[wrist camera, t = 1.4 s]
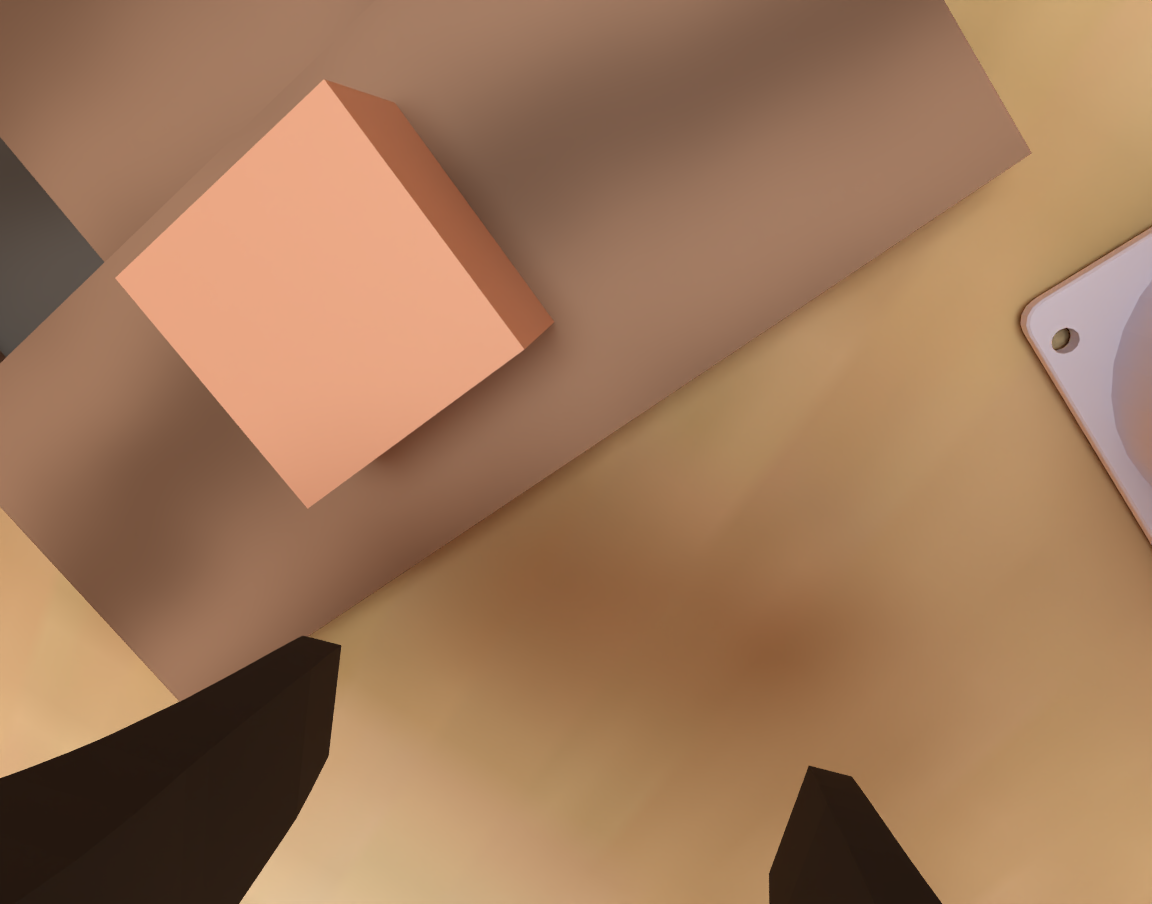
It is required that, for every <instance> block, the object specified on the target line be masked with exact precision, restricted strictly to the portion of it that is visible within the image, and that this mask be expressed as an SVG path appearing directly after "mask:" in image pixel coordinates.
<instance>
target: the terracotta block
mask: <svg viewBox="0 0 1152 904" xmlns="http://www.w3.org/2000/svg"><path fill="white" fill-rule="evenodd" d="M115 279H116V280H117V281H118V282H119V283H120V285H121V286H122V287H123V288H124V289H125V291H126V292H127V293H128V294H129V295H130V297H131V298H132V299H133V300H134V301H135V303H136V304H137V305H138V306H139V307H140V309H141V310H142V311H143V312H144V313H145V315H146V316H147V317H148V318H149V319H150V321H151V322H152V323H153V324H154V325H155V327H156V328H157V329H158V330H159V331H160V333H161V334H162V335H163V336H164V337H165V339H166V340H167V341H168V342H169V343H170V345H171V346H172V347H173V348H174V349H175V351H176V352H177V353H178V354H179V355H180V357H181V358H182V359H183V360H184V361H185V363H186V364H187V365H188V366H189V367H190V368H191V370H192V371H193V372H194V373H195V374H196V376H197V377H198V378H199V379H200V380H201V382H202V383H203V384H204V385H205V386H206V388H207V389H208V390H209V391H210V392H211V394H212V395H213V396H214V397H215V398H216V400H217V401H218V402H219V403H220V404H221V406H222V407H223V408H224V409H225V410H226V412H227V413H228V414H229V415H230V416H231V418H232V419H233V420H234V421H235V422H236V424H237V425H238V426H239V427H240V428H241V430H242V431H243V432H244V433H245V434H246V436H247V437H248V438H249V439H250V440H251V442H252V443H253V444H254V445H255V446H256V448H257V449H258V450H259V451H260V452H261V454H262V455H263V456H264V457H265V458H266V460H267V461H268V462H269V463H270V464H271V466H272V467H273V468H274V469H275V470H276V472H277V473H278V474H279V475H280V476H281V478H282V479H283V480H284V481H285V482H286V483H287V485H288V486H289V487H290V488H291V489H292V491H293V492H294V493H295V494H296V495H297V497H298V498H299V499H300V500H301V501H302V503H303V504H304V505H305V506H306V507H307V509H308V508H309V507H311V506H312V505H313V504H315V503H316V502H317V501H319V500H320V499H322V498H323V497H324V496H326V495H327V494H328V493H330V492H331V491H332V490H334V489H335V488H337V487H338V486H339V485H341V484H342V483H343V482H345V481H346V480H347V479H349V478H350V477H352V476H353V475H354V474H356V473H357V472H358V471H360V470H361V469H362V468H364V467H365V466H366V465H368V464H369V463H371V462H372V461H373V460H375V459H376V458H377V457H379V456H380V455H381V454H383V453H384V452H386V451H387V450H388V449H390V448H391V447H392V446H394V445H395V444H396V443H398V442H399V441H401V440H402V439H403V438H405V437H406V436H407V435H409V434H410V433H411V432H413V431H414V430H415V429H417V428H418V427H420V426H421V425H422V424H424V423H425V422H426V421H428V420H429V419H430V418H432V417H433V416H435V415H436V414H437V413H439V412H440V411H441V410H443V409H444V408H445V407H447V406H448V405H450V404H451V403H452V402H454V401H455V400H456V399H458V398H459V397H460V396H462V395H463V394H464V393H466V392H467V391H469V390H470V389H471V388H473V387H474V386H475V385H477V384H478V383H479V382H481V381H482V380H484V379H485V378H486V377H488V376H489V375H490V374H492V373H493V372H494V371H496V370H497V369H499V368H500V367H501V366H503V365H504V364H505V363H507V362H508V361H509V360H511V359H512V358H513V357H515V356H516V355H518V354H519V353H520V352H522V351H523V350H524V349H525V348H527V347H528V346H529V345H530V344H531V343H532V342H533V341H534V340H535V339H536V338H537V337H539V336H540V335H541V334H542V333H543V332H544V331H545V330H546V329H547V328H548V327H550V326H551V325H552V324H553V323H554V321H553V319H552V318H551V317H550V315H549V314H548V313H547V311H546V310H545V308H544V307H543V306H542V304H541V303H540V302H539V300H538V299H537V297H536V296H535V295H534V293H533V292H532V291H531V289H530V288H529V286H528V285H527V284H526V282H525V281H524V280H523V278H522V277H521V275H520V274H519V273H518V271H517V270H516V269H515V267H514V266H513V264H512V263H511V262H510V260H509V259H508V258H507V256H506V255H505V253H504V252H503V251H502V249H501V248H500V247H499V245H498V244H497V242H496V241H495V240H494V238H493V237H492V236H491V234H490V233H489V231H488V230H487V229H486V227H485V226H484V225H483V223H482V222H481V220H480V219H479V218H478V216H477V215H476V214H475V212H474V211H473V209H472V208H471V207H470V205H469V204H468V203H467V201H466V200H465V198H464V197H463V196H462V194H461V193H460V192H459V190H458V189H457V187H456V186H455V185H454V183H453V182H452V181H451V179H450V178H449V176H448V175H447V174H446V172H445V171H444V170H443V168H442V167H441V166H440V164H439V163H438V161H437V160H436V159H435V157H434V156H433V155H432V153H431V152H430V150H429V149H428V148H427V146H426V145H425V144H424V142H423V141H422V139H421V138H420V137H419V135H418V134H417V133H416V131H415V130H414V128H413V127H412V126H411V124H410V123H409V122H408V120H407V119H406V117H405V116H404V115H403V113H402V112H401V111H400V109H399V108H398V106H397V105H396V104H395V103H394V102H391V101H388V100H385V99H382V98H379V97H376V96H373V95H370V94H367V93H364V92H361V91H358V90H355V89H352V88H349V87H346V86H343V85H340V84H337V83H334V82H331V81H328V80H325V79H324V80H322V81H321V82H320V83H319V84H318V85H317V86H316V87H315V88H314V89H313V90H312V91H311V92H310V93H309V94H308V95H307V96H306V97H305V98H304V99H303V100H301V101H300V102H299V103H298V104H297V105H296V106H295V107H294V108H293V109H292V110H291V111H290V112H289V113H288V114H287V115H286V116H285V117H284V118H283V119H282V120H280V121H279V122H278V123H277V124H276V125H275V126H274V127H273V128H272V129H271V130H270V131H269V132H268V133H267V134H266V135H265V136H264V137H263V138H262V139H261V140H259V141H258V142H257V143H256V144H255V145H254V146H253V147H252V148H251V149H250V150H249V151H248V152H247V153H246V154H245V155H244V156H243V157H242V158H241V159H240V160H238V161H237V162H236V163H235V164H234V165H233V166H232V167H231V168H230V169H229V170H228V171H227V172H226V173H225V174H224V175H223V176H222V177H221V178H220V179H219V180H217V181H216V182H215V183H214V184H213V185H212V186H211V187H210V188H209V189H208V190H207V191H206V192H205V193H204V194H203V195H202V196H201V197H200V198H199V199H198V200H196V201H195V202H194V203H193V204H192V205H191V206H190V207H189V208H188V209H187V210H186V211H185V212H184V213H183V214H182V215H181V216H180V217H179V218H178V219H176V220H175V221H174V222H173V223H172V224H171V225H170V226H169V227H168V228H167V229H166V230H165V231H164V232H163V233H162V234H161V235H160V236H159V237H158V238H157V239H155V240H154V241H153V242H152V243H151V244H150V245H149V246H148V247H147V248H146V249H145V250H144V251H143V252H142V253H141V254H140V255H139V256H138V257H137V258H136V259H134V260H133V261H132V262H131V263H130V264H129V265H128V266H127V267H126V268H125V269H124V270H123V271H122V272H121V273H120V274H119V275H118V276H117V277H116V278H115Z"/></svg>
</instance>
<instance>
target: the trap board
mask: <svg viewBox="0 0 1152 904" xmlns="http://www.w3.org/2000/svg"><path fill="white" fill-rule="evenodd" d="M324 79H325V80H328V81H331V82H334V83H337V84H340V85H343V86H346V87H349V88H352V89H355V90H358V91H361V92H364V93H367V94H370V95H373V96H376V97H379V98H382V99H385V100H388V101H391V102H394V103H395V104H396V105H397V106H398V108H399V109H400V111H401V112H402V113H403V115H404V116H405V117H406V119H407V120H408V122H409V123H410V124H411V126H412V127H413V128H414V130H415V131H416V133H417V134H418V135H419V137H420V138H421V139H422V141H423V142H424V144H425V145H426V146H427V148H428V149H429V150H430V152H431V153H432V155H433V156H434V157H435V159H436V160H437V161H438V163H439V164H440V166H441V167H442V168H443V170H444V171H445V172H446V174H447V175H448V176H449V178H450V179H451V181H452V182H453V183H454V185H455V186H456V187H457V189H458V190H459V192H460V193H461V194H462V196H463V197H464V198H465V200H466V201H467V203H468V204H469V205H470V207H471V208H472V209H473V211H474V212H475V214H476V215H477V216H478V218H479V219H480V220H481V222H482V223H483V225H484V226H485V227H486V229H487V230H488V231H489V233H490V234H491V236H492V237H493V238H494V240H495V241H496V242H497V244H498V245H499V247H500V248H501V249H502V251H503V252H504V253H505V255H506V256H507V258H508V259H509V260H510V262H511V263H512V264H513V266H514V267H515V269H516V270H517V271H518V273H519V274H520V275H521V277H522V278H523V280H524V281H525V282H526V284H527V285H528V286H529V288H530V289H531V291H532V292H533V293H534V295H535V296H536V297H537V299H538V300H539V302H540V303H541V304H542V306H543V307H544V308H545V310H546V311H547V313H548V314H549V315H550V317H551V318H552V319H553V321H554V323H553V324H552V325H551V326H550V327H548V328H547V329H546V330H545V331H544V332H543V333H542V334H541V335H540V336H539V337H537V338H536V339H535V340H534V341H533V342H532V343H531V344H530V345H529V346H528V347H527V348H525V349H524V350H523V351H522V352H520V353H519V354H518V355H516V356H515V357H513V358H512V359H511V360H509V361H508V362H507V363H505V364H504V365H503V366H501V367H500V368H499V369H497V370H496V371H494V372H493V373H492V374H490V375H489V376H488V377H486V378H485V379H484V380H482V381H481V382H479V383H478V384H477V385H475V386H474V387H473V388H471V389H470V390H469V391H467V392H466V393H464V394H463V395H462V396H460V397H459V398H458V399H456V400H455V401H454V402H452V403H451V404H450V405H448V406H447V407H445V408H444V409H443V410H441V411H440V412H439V413H437V414H436V415H435V416H433V417H432V418H430V419H429V420H428V421H426V422H425V423H424V424H422V425H421V426H420V427H418V428H417V429H415V430H414V431H413V432H411V433H410V434H409V435H407V436H406V437H405V438H403V439H402V440H401V441H399V442H398V443H396V444H395V445H394V446H392V447H391V448H390V449H388V450H387V451H386V452H384V453H383V454H381V455H380V456H379V457H377V458H376V459H375V460H373V461H372V462H371V463H369V464H368V465H366V466H365V467H364V468H362V469H361V470H360V471H358V472H357V473H356V474H354V475H353V476H352V477H350V478H349V479H347V480H346V481H345V482H343V483H342V484H341V485H339V486H338V487H337V488H335V489H334V490H332V491H331V492H330V493H328V494H327V495H326V496H324V497H323V498H322V499H320V500H319V501H317V502H316V503H315V504H313V505H312V506H311V507H309V508H308V509H307V507H306V506H305V505H304V504H303V503H302V501H301V500H300V499H299V498H298V497H297V495H296V494H295V493H294V492H293V491H292V489H291V488H290V487H289V486H288V485H287V483H286V482H285V481H284V480H283V479H282V478H281V476H280V475H279V474H278V473H277V472H276V470H275V469H274V468H273V467H272V466H271V464H270V463H269V462H268V461H267V460H266V458H265V457H264V456H263V455H262V454H261V452H260V451H259V450H258V449H257V448H256V446H255V445H254V444H253V443H252V442H251V440H250V439H249V438H248V437H247V436H246V434H245V433H244V432H243V431H242V430H241V428H240V427H239V426H238V425H237V424H236V422H235V421H234V420H233V419H232V418H231V416H230V415H229V414H228V413H227V412H226V410H225V409H224V408H223V407H222V406H221V404H220V403H219V402H218V401H217V400H216V398H215V397H214V396H213V395H212V394H211V392H210V391H209V390H208V389H207V388H206V386H205V385H204V384H203V383H202V382H201V380H200V379H199V378H198V377H197V376H196V374H195V373H194V372H193V371H192V370H191V368H190V367H189V366H188V365H187V364H186V363H185V361H184V360H183V359H182V358H181V357H180V355H179V354H178V353H177V352H176V351H175V349H174V348H173V347H172V346H171V345H170V343H169V342H168V341H167V340H166V339H165V337H164V336H163V335H162V334H161V333H160V331H159V330H158V329H157V328H156V327H155V325H154V324H153V323H152V322H151V321H150V319H149V318H148V317H147V316H146V315H145V313H144V312H143V311H142V310H141V309H140V307H139V306H138V305H137V304H136V303H135V301H134V300H133V299H132V298H131V297H130V295H129V294H128V293H127V292H126V291H125V289H124V288H123V287H122V286H121V285H120V283H119V282H118V281H117V280H116V279H115V278H116V277H117V276H118V275H119V274H120V273H121V272H122V271H123V270H124V269H125V268H126V267H127V266H128V265H129V264H130V263H131V262H132V261H133V260H134V259H136V258H137V257H138V256H139V255H140V254H141V253H142V252H143V251H144V250H145V249H146V248H147V247H148V246H149V245H150V244H151V243H152V242H153V241H154V240H155V239H157V238H158V237H159V236H160V235H161V234H162V233H163V232H164V231H165V230H166V229H167V228H168V227H169V226H170V225H171V224H172V223H173V222H174V221H175V220H176V219H178V218H179V217H180V216H181V215H182V214H183V213H184V212H185V211H186V210H187V209H188V208H189V207H190V206H191V205H192V204H193V203H194V202H195V201H196V200H198V199H199V198H200V197H201V196H202V195H203V194H204V193H205V192H206V191H207V190H208V189H209V188H210V187H211V186H212V185H213V184H214V183H215V182H216V181H217V180H219V179H220V178H221V177H222V176H223V175H224V174H225V173H226V172H227V171H228V170H229V169H230V168H231V167H232V166H233V165H234V164H235V163H236V162H237V161H238V160H240V159H241V158H242V157H243V156H244V155H245V154H246V153H247V152H248V151H249V150H250V149H251V148H252V147H253V146H254V145H255V144H256V143H257V142H258V141H259V140H261V139H262V138H263V137H264V136H265V135H266V134H267V133H268V132H269V131H270V130H271V129H272V128H273V127H274V126H275V125H276V124H277V123H278V122H279V121H280V120H282V119H283V118H284V117H285V116H286V115H287V114H288V113H289V112H290V111H291V110H292V109H293V108H294V107H295V106H296V105H297V104H298V103H299V102H300V101H301V100H303V99H304V98H305V97H306V96H307V95H308V94H309V93H310V92H311V91H312V90H313V89H314V88H315V87H316V86H317V85H318V84H319V83H320V82H321V81H322V80H324ZM1030 154H1031V151H1030V149H1029V148H1028V146H1027V144H1026V142H1025V141H1024V139H1023V137H1022V135H1021V134H1020V132H1019V130H1018V128H1017V127H1016V125H1015V123H1014V122H1013V120H1012V118H1011V116H1010V115H1009V113H1008V111H1007V109H1006V108H1005V106H1004V104H1003V102H1002V101H1001V99H1000V97H999V95H998V94H997V92H996V90H995V88H994V87H993V85H992V83H991V81H990V80H989V78H988V76H987V74H986V73H985V71H984V69H983V68H982V66H981V64H980V62H979V61H978V59H977V57H976V55H975V54H974V52H973V50H972V48H971V47H970V45H969V43H968V41H967V40H966V38H965V36H964V34H963V33H962V31H961V29H960V27H959V26H958V24H957V22H956V21H955V19H954V17H953V15H952V14H951V12H950V10H949V8H948V7H947V5H946V3H945V1H944V0H0V507H1V508H2V509H3V510H4V511H5V512H6V514H7V515H8V516H9V517H10V518H11V519H12V520H13V521H14V522H15V523H16V524H17V526H18V527H19V528H20V529H21V530H22V531H23V532H24V533H25V534H26V535H27V536H28V537H29V539H30V540H31V541H32V542H33V543H34V544H35V545H36V546H37V547H38V548H39V549H40V551H41V552H42V553H43V554H44V555H45V556H46V557H47V558H48V559H49V560H50V561H51V562H52V564H53V565H54V566H55V567H56V568H57V569H58V570H59V571H60V572H61V573H62V574H63V576H64V577H65V578H66V579H67V580H68V581H69V582H70V583H71V584H72V585H73V586H74V587H75V589H76V590H77V591H78V592H79V593H80V594H81V595H82V596H83V597H84V598H85V599H86V600H87V602H88V603H89V604H90V605H91V606H92V607H93V608H94V609H95V610H96V611H97V612H98V614H99V615H100V616H101V617H102V618H103V619H104V620H105V621H106V622H107V623H108V624H109V625H110V627H111V628H112V629H113V630H114V631H115V632H116V633H117V634H118V635H119V636H120V637H121V639H122V640H123V641H124V642H125V643H126V644H127V645H128V646H129V647H130V648H131V649H132V650H133V652H134V653H135V654H136V655H137V656H138V657H139V658H140V659H141V660H142V661H143V662H144V663H145V665H146V666H147V667H148V668H149V669H150V670H151V671H152V672H153V673H154V674H155V675H156V677H157V678H158V679H159V680H160V681H161V682H162V683H163V684H164V685H165V686H166V687H167V688H168V690H169V691H170V692H171V693H172V694H173V695H174V696H175V697H176V698H177V699H178V700H179V702H180V701H182V700H184V699H186V698H188V697H190V696H192V695H194V694H195V693H197V692H199V691H201V690H203V689H205V688H207V687H209V686H210V685H212V684H214V683H216V682H218V681H220V680H222V679H224V678H225V677H227V676H229V675H231V674H233V673H235V672H236V671H238V670H240V669H242V668H244V667H246V666H247V665H249V664H251V663H253V662H255V661H256V660H258V659H260V658H262V657H264V656H265V655H267V654H269V653H271V652H273V651H274V650H276V649H278V648H280V647H282V646H284V645H285V644H287V643H289V642H291V641H293V640H295V639H297V638H299V637H301V636H307V637H308V636H309V635H311V634H312V633H314V632H315V631H317V630H318V629H320V628H321V627H323V626H324V625H326V624H327V623H329V622H330V621H332V620H333V619H335V618H336V617H338V616H339V615H341V614H342V613H344V612H345V611H347V610H348V609H350V608H351V607H353V606H354V605H356V604H357V603H359V602H360V601H362V600H363V599H365V598H366V597H368V596H369V595H371V594H372V593H374V592H375V591H377V590H378V589H380V588H381V587H383V586H384V585H386V584H387V583H389V582H390V581H392V580H393V579H395V578H396V577H398V576H399V575H401V574H402V573H404V572H405V571H407V570H408V569H410V568H411V567H413V566H414V565H416V564H417V563H419V562H420V561H422V560H423V559H425V558H426V557H428V556H429V555H431V554H432V553H434V552H435V551H437V550H438V549H440V548H441V547H443V546H444V545H446V544H447V543H449V542H450V541H452V540H453V539H455V538H456V537H458V536H459V535H461V534H462V533H464V532H465V531H467V530H468V529H470V528H471V527H473V526H474V525H476V524H477V523H479V522H480V521H482V520H483V519H485V518H486V517H488V516H489V515H491V514H492V513H494V512H495V511H497V510H498V509H500V508H501V507H503V506H504V505H506V504H507V503H509V502H510V501H512V500H513V499H515V498H516V497H518V496H519V495H521V494H522V493H524V492H525V491H527V490H528V489H530V488H531V487H533V486H534V485H536V484H537V483H539V482H540V481H542V480H543V479H544V478H546V477H547V476H549V475H550V474H552V473H553V472H555V471H556V470H558V469H559V468H561V467H562V466H564V465H565V464H567V463H568V462H570V461H571V460H573V459H574V458H576V457H577V456H579V455H580V454H582V453H583V452H585V451H586V450H588V449H589V448H591V447H592V446H594V445H595V444H597V443H598V442H600V441H601V440H603V439H604V438H606V437H607V436H609V435H610V434H612V433H613V432H615V431H616V430H618V429H619V428H621V427H622V426H624V425H625V424H627V423H628V422H630V421H631V420H633V419H634V418H636V417H637V416H639V415H640V414H642V413H643V412H645V411H646V410H648V409H649V408H651V407H652V406H654V405H655V404H657V403H658V402H660V401H661V400H663V399H664V398H666V397H667V396H669V395H670V394H672V393H673V392H675V391H676V390H678V389H679V388H681V387H682V386H684V385H685V384H687V383H688V382H690V381H691V380H693V379H694V378H696V377H697V376H699V375H700V374H702V373H703V372H705V371H706V370H708V369H709V368H711V367H712V366H714V365H715V364H717V363H718V362H720V361H721V360H723V359H724V358H726V357H727V356H729V355H730V354H732V353H733V352H735V351H736V350H738V349H739V348H741V347H742V346H744V345H745V344H747V343H748V342H750V341H751V340H753V339H754V338H756V337H757V336H759V335H760V334H762V333H763V332H765V331H766V330H768V329H769V328H771V327H772V326H774V325H775V324H777V323H778V322H780V321H781V320H783V319H784V318H786V317H787V316H789V315H790V314H792V313H793V312H795V311H796V310H798V309H799V308H801V307H802V306H804V305H805V304H807V303H808V302H810V301H811V300H813V299H814V298H816V297H817V296H819V295H820V294H822V293H823V292H825V291H826V290H828V289H829V288H831V287H832V286H834V285H835V284H837V283H838V282H840V281H841V280H843V279H844V278H846V277H847V276H849V275H850V274H852V273H853V272H855V271H856V270H858V269H859V268H861V267H862V266H864V265H865V264H867V263H868V262H870V261H871V260H873V259H874V258H876V257H877V256H879V255H880V254H882V253H883V252H885V251H886V250H888V249H889V248H891V247H892V246H894V245H895V244H897V243H898V242H900V241H901V240H903V239H904V238H906V237H907V236H909V235H910V234H912V233H913V232H915V231H916V230H918V229H919V228H921V227H922V226H924V225H925V224H926V223H928V222H929V221H931V220H932V219H934V218H935V217H937V216H938V215H940V214H941V213H943V212H944V211H946V210H947V209H949V208H950V207H952V206H953V205H955V204H956V203H958V202H959V201H961V200H962V199H964V198H965V197H967V196H968V195H970V194H971V193H973V192H974V191H976V190H977V189H979V188H980V187H982V186H983V185H985V184H986V183H988V182H989V181H991V180H992V179H994V178H995V177H997V176H998V175H1000V174H1001V173H1003V172H1004V171H1006V170H1007V169H1009V168H1010V167H1012V166H1013V165H1015V164H1016V163H1018V162H1019V161H1021V160H1022V159H1024V158H1025V157H1027V156H1028V155H1030Z"/></svg>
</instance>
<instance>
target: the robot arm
mask: <svg viewBox="0 0 1152 904" xmlns="http://www.w3.org/2000/svg"><path fill="white" fill-rule="evenodd" d="M1020 324H1021V327H1022V330H1023V333H1024V335H1025V336H1026V338H1027V340H1028V341H1029V343H1030V345H1031V346H1032V348H1033V349H1034V351H1035V353H1036V354H1037V356H1038V358H1039V359H1040V361H1041V363H1042V364H1043V366H1044V368H1045V369H1046V371H1047V373H1048V374H1049V376H1050V378H1051V379H1052V381H1053V383H1054V384H1055V386H1056V388H1057V389H1058V391H1059V393H1060V394H1061V396H1062V397H1063V399H1064V401H1065V402H1066V404H1067V406H1068V407H1069V409H1070V411H1071V412H1072V414H1073V416H1074V417H1075V419H1076V421H1077V422H1078V424H1079V426H1080V427H1081V429H1082V431H1083V432H1084V434H1085V436H1086V437H1087V439H1088V441H1089V442H1090V444H1091V445H1092V447H1093V449H1094V450H1095V452H1096V454H1097V455H1098V457H1099V459H1100V460H1101V462H1102V464H1103V465H1104V467H1105V469H1106V470H1107V472H1108V474H1109V475H1110V477H1111V479H1112V480H1113V482H1114V484H1115V485H1116V487H1117V489H1118V490H1119V492H1120V493H1121V495H1122V497H1123V498H1124V500H1125V502H1126V503H1127V505H1128V507H1129V508H1130V510H1131V512H1132V513H1133V515H1134V517H1135V518H1136V520H1137V522H1138V523H1139V525H1140V527H1141V528H1142V530H1143V532H1144V533H1145V535H1146V537H1147V538H1148V540H1149V541H1150V543H1151V545H1152V227H1151V228H1149V229H1148V230H1146V231H1144V232H1143V233H1141V234H1139V235H1138V236H1136V237H1135V238H1133V239H1131V240H1130V241H1128V242H1126V243H1125V244H1123V245H1121V246H1120V247H1118V248H1117V249H1115V250H1113V251H1112V252H1110V253H1108V254H1107V255H1105V256H1103V257H1102V258H1100V259H1099V260H1097V261H1095V262H1094V263H1092V264H1090V265H1089V266H1087V267H1085V268H1084V269H1082V270H1081V271H1079V272H1077V273H1076V274H1074V275H1072V276H1071V277H1069V278H1068V279H1066V280H1064V281H1063V282H1061V283H1059V284H1058V285H1056V286H1054V287H1053V288H1051V289H1050V290H1048V291H1046V292H1045V293H1043V294H1041V295H1040V296H1038V297H1036V298H1035V299H1034V300H1032V301H1031V302H1030V303H1029V304H1028V305H1027V306H1026V307H1025V309H1024V311H1023V313H1022V315H1021V323H1020ZM1064 328H1067V329H1069V331H1070V335H1071V337H1070V340H1069V343H1068V344H1067V345H1066V346H1065V347H1064V348H1062V349H1059V350H1054V349H1053V348H1052V343H1051V341H1052V338H1053V336H1054V335H1055V334H1056V333H1057V332H1058V331H1059V330H1061V329H1064ZM340 652H341V645H338V644H334V643H330V642H326V641H322V640H318V639H314V638H310V637H307V636H301V637H299V638H297V639H295V640H293V641H291V642H289V643H287V644H285V645H284V646H282V647H280V648H278V649H276V650H274V651H273V652H271V653H269V654H267V655H265V656H264V657H262V658H260V659H258V660H256V661H255V662H253V663H251V664H249V665H247V666H246V667H244V668H242V669H240V670H238V671H236V672H235V673H233V674H231V675H229V676H227V677H225V678H224V679H222V680H220V681H218V682H216V683H214V684H212V685H210V686H209V687H207V688H205V689H203V690H201V691H199V692H197V693H195V694H194V695H192V696H190V697H188V698H186V699H184V700H182V701H180V702H178V703H176V704H174V705H172V706H170V707H168V708H165V709H163V710H161V711H159V712H157V713H155V714H153V715H151V716H149V717H147V718H144V719H142V720H140V721H138V722H136V723H134V724H132V725H130V726H128V727H126V728H124V729H121V730H119V731H117V732H115V733H113V734H111V735H109V736H106V737H104V738H102V739H100V740H97V741H95V742H93V743H90V744H88V745H86V746H83V747H81V748H78V749H76V750H74V751H71V752H69V753H66V754H64V755H61V756H58V757H56V758H53V759H51V760H48V761H45V762H43V763H40V764H38V765H35V766H33V767H30V768H27V769H25V770H22V771H19V772H17V773H14V774H11V775H8V776H5V777H2V778H0V904H239V903H240V901H241V900H242V898H243V897H244V896H245V894H246V893H247V891H248V890H249V888H250V887H251V885H252V884H253V882H254V881H255V879H256V878H257V876H258V875H259V874H260V872H261V871H262V869H263V868H264V866H265V865H266V863H267V862H268V860H269V859H270V857H271V856H272V854H273V853H274V851H275V850H276V848H277V847H278V845H279V844H280V842H281V841H282V839H283V838H284V836H285V835H286V833H287V832H288V830H289V829H290V827H291V826H292V824H293V823H294V821H295V820H296V818H297V816H298V814H299V812H300V810H301V809H302V807H303V805H304V803H305V801H306V799H307V797H308V795H309V794H310V792H311V790H312V788H313V786H314V784H315V782H316V780H317V778H318V776H319V774H320V772H321V770H322V768H323V766H324V764H325V762H326V760H327V758H328V756H329V747H330V739H331V730H332V721H333V713H334V704H335V695H336V687H337V678H338V669H339V661H340ZM769 903H770V904H942V903H941V901H940V900H939V899H938V897H937V896H936V895H935V893H934V892H933V891H932V889H931V888H930V886H929V885H928V884H927V882H926V881H925V880H924V878H923V877H922V876H921V874H920V873H919V871H918V870H917V869H916V867H915V866H914V864H913V863H912V862H911V860H910V859H909V857H908V856H907V854H906V853H905V852H904V850H903V849H902V847H901V846H900V844H899V843H898V842H897V840H896V839H895V837H894V836H893V834H892V833H891V832H890V830H889V829H888V827H887V826H886V824H885V823H884V822H883V820H882V819H881V817H880V816H879V814H878V813H877V811H876V810H875V809H874V807H873V806H872V804H871V803H870V801H869V800H868V798H867V797H866V796H865V794H864V793H863V791H862V790H861V789H860V787H859V786H858V785H857V783H856V782H855V780H854V779H853V778H852V777H851V776H847V775H843V774H839V773H836V772H832V771H828V770H824V769H820V768H816V767H812V766H809V767H808V770H807V772H806V775H805V778H804V781H803V783H802V786H801V789H800V791H799V794H798V797H797V800H796V802H795V805H794V808H793V810H792V813H791V816H790V818H789V821H788V824H787V827H786V829H785V832H784V835H783V837H782V840H781V843H780V846H779V848H778V851H777V854H776V856H775V859H774V862H773V865H772V867H771V870H770V873H769Z"/></svg>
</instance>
